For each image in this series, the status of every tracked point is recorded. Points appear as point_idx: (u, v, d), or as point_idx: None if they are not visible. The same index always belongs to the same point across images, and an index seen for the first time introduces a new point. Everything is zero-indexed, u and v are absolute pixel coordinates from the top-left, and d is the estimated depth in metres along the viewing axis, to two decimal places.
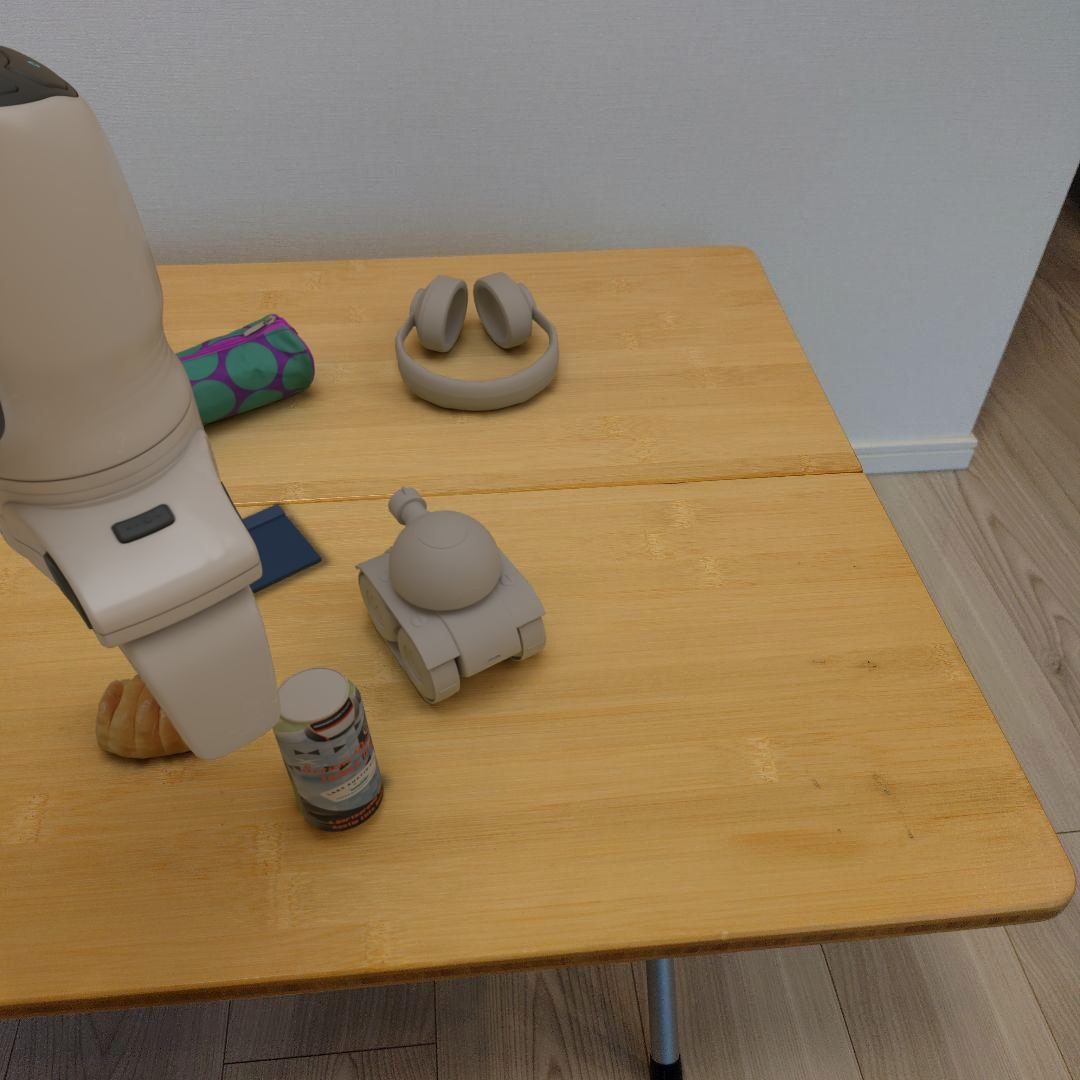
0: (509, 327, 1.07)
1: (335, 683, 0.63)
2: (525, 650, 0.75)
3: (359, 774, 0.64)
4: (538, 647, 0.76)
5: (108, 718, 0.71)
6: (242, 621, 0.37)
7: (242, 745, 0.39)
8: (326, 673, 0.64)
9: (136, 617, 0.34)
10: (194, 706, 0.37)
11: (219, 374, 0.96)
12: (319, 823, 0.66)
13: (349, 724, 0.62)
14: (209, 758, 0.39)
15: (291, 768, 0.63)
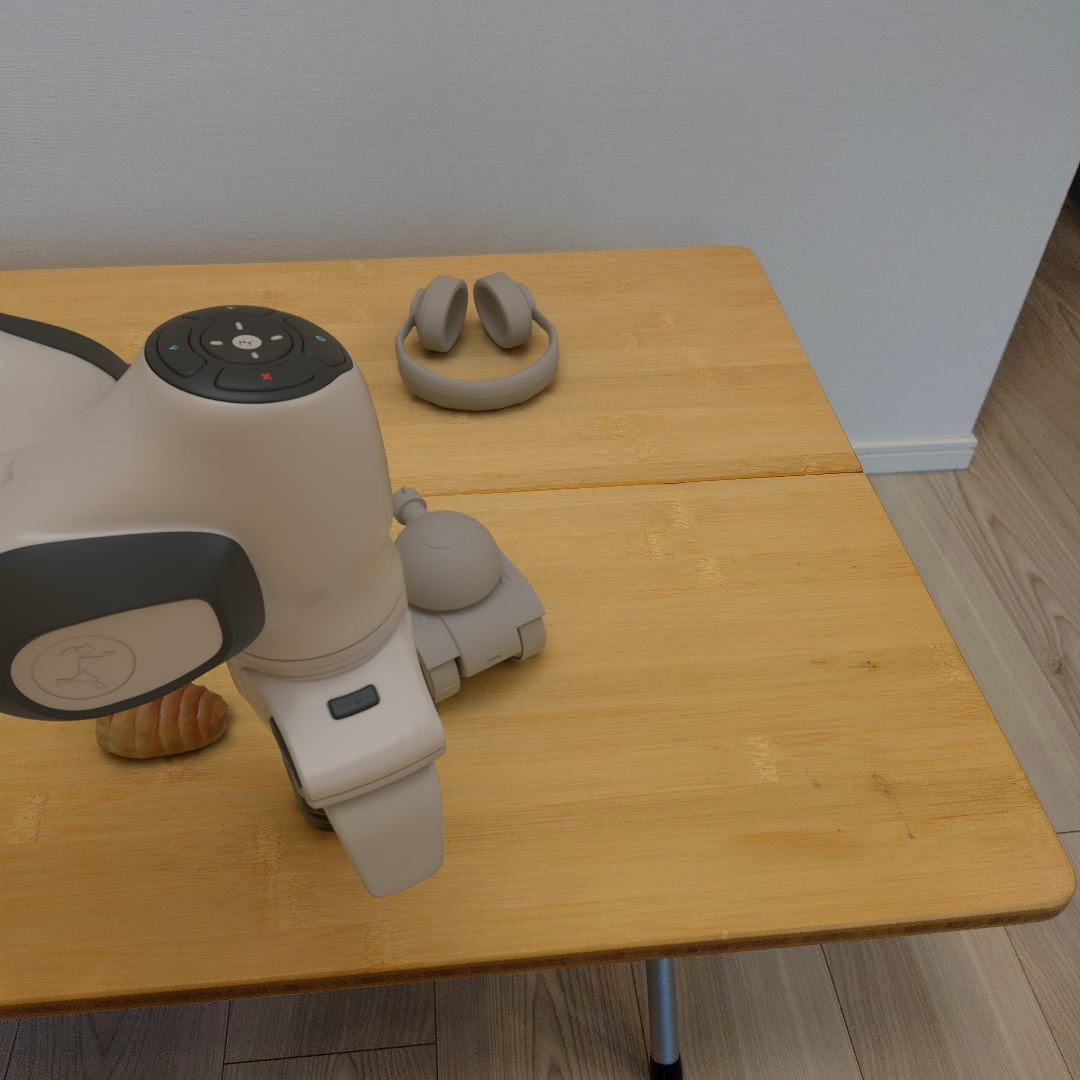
0: (509, 327, 1.07)
1: None
2: (525, 650, 0.75)
3: None
4: (538, 647, 0.76)
5: (108, 718, 0.71)
6: (423, 791, 0.42)
7: (407, 887, 0.45)
8: None
9: (340, 789, 0.39)
10: (374, 858, 0.42)
11: None
12: (319, 823, 0.66)
13: None
14: (379, 896, 0.44)
15: None
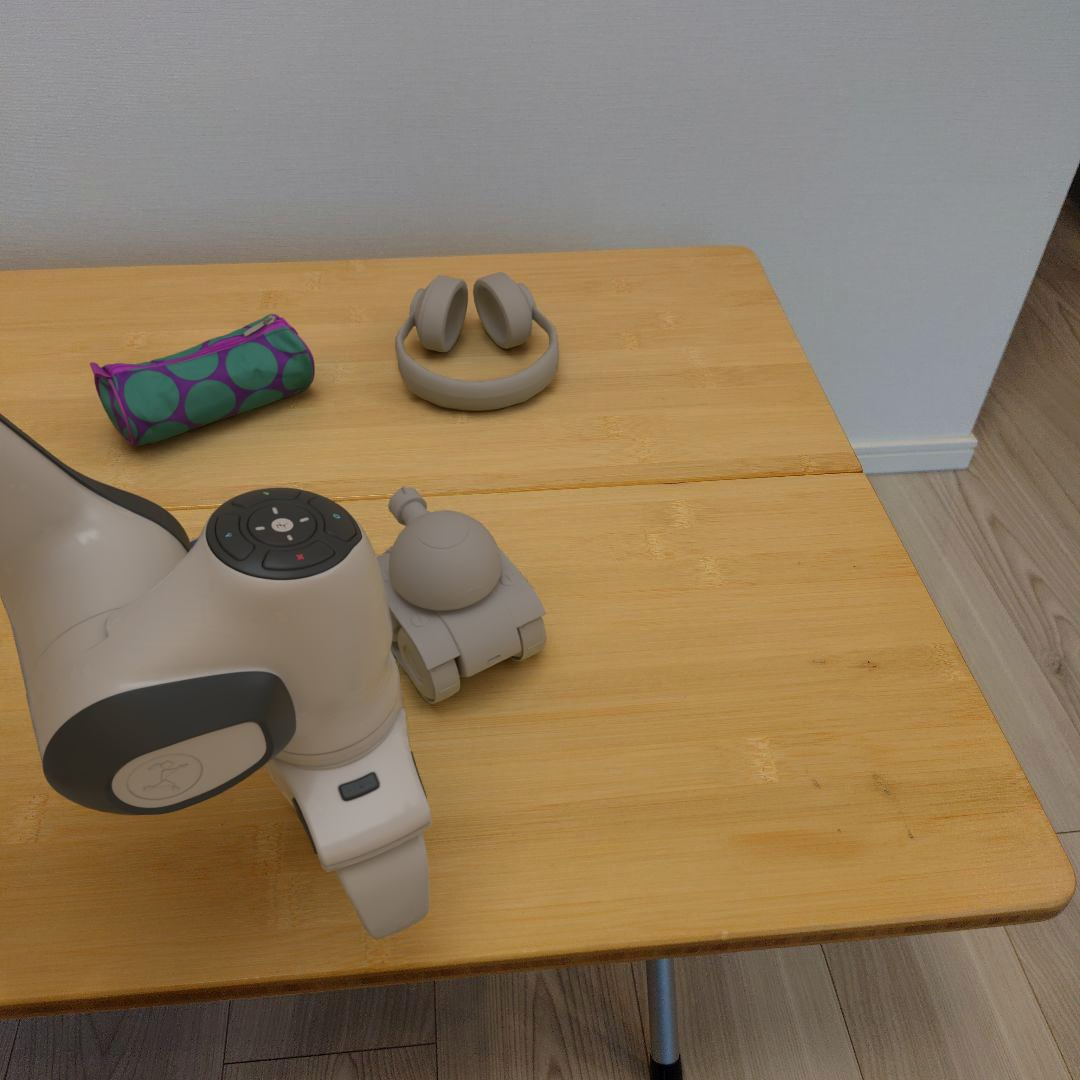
0: (509, 327, 1.07)
1: None
2: (525, 650, 0.75)
3: None
4: (538, 647, 0.76)
5: None
6: (413, 856, 0.53)
7: (400, 930, 0.55)
8: None
9: (348, 857, 0.50)
10: (374, 909, 0.53)
11: (219, 374, 0.96)
12: None
13: None
14: (377, 938, 0.55)
15: None
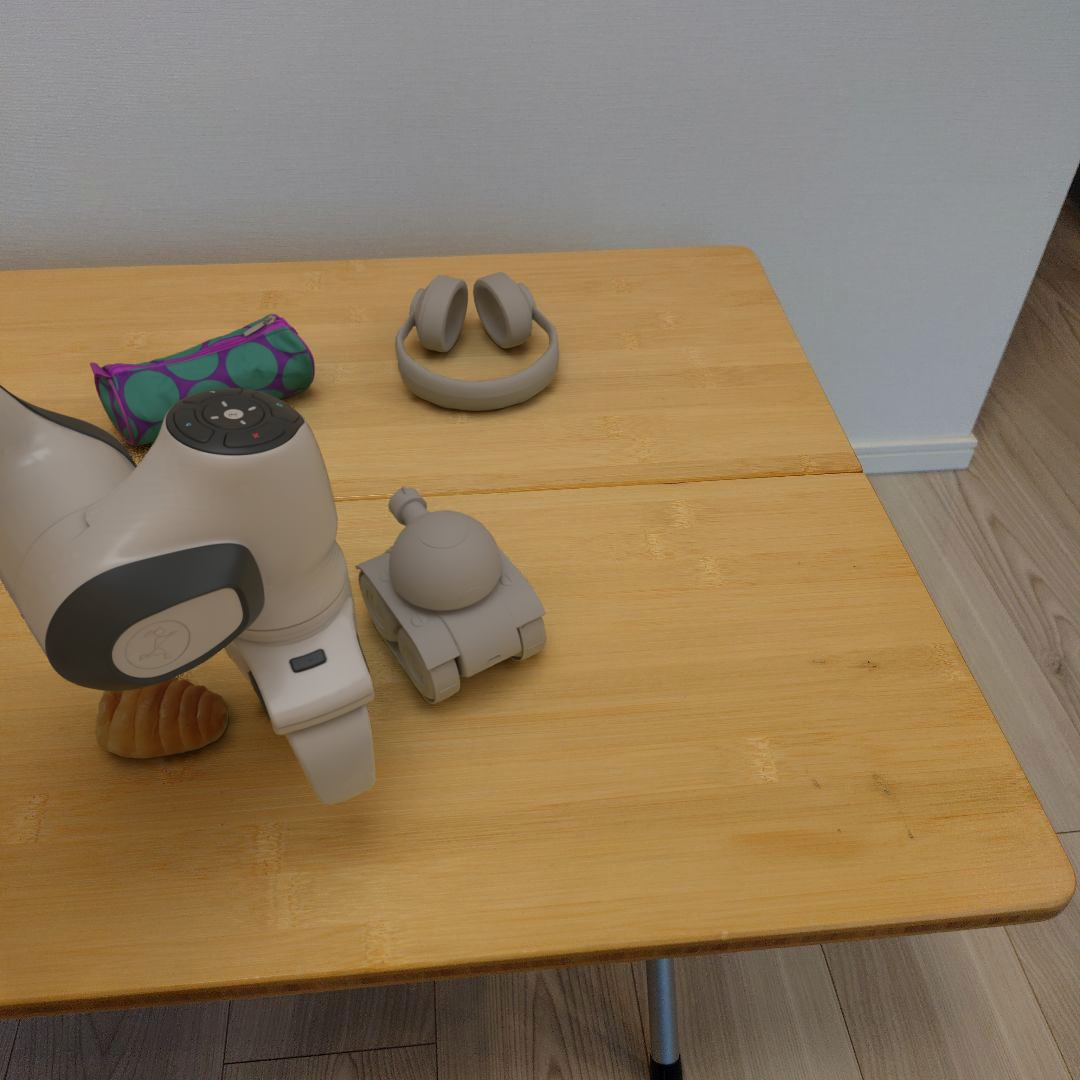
0: (509, 327, 1.07)
1: None
2: (525, 650, 0.75)
3: None
4: (538, 647, 0.76)
5: (108, 718, 0.71)
6: (358, 726, 0.59)
7: (348, 798, 0.62)
8: None
9: (296, 720, 0.56)
10: (322, 773, 0.59)
11: (219, 374, 0.96)
12: None
13: None
14: (327, 803, 0.61)
15: None
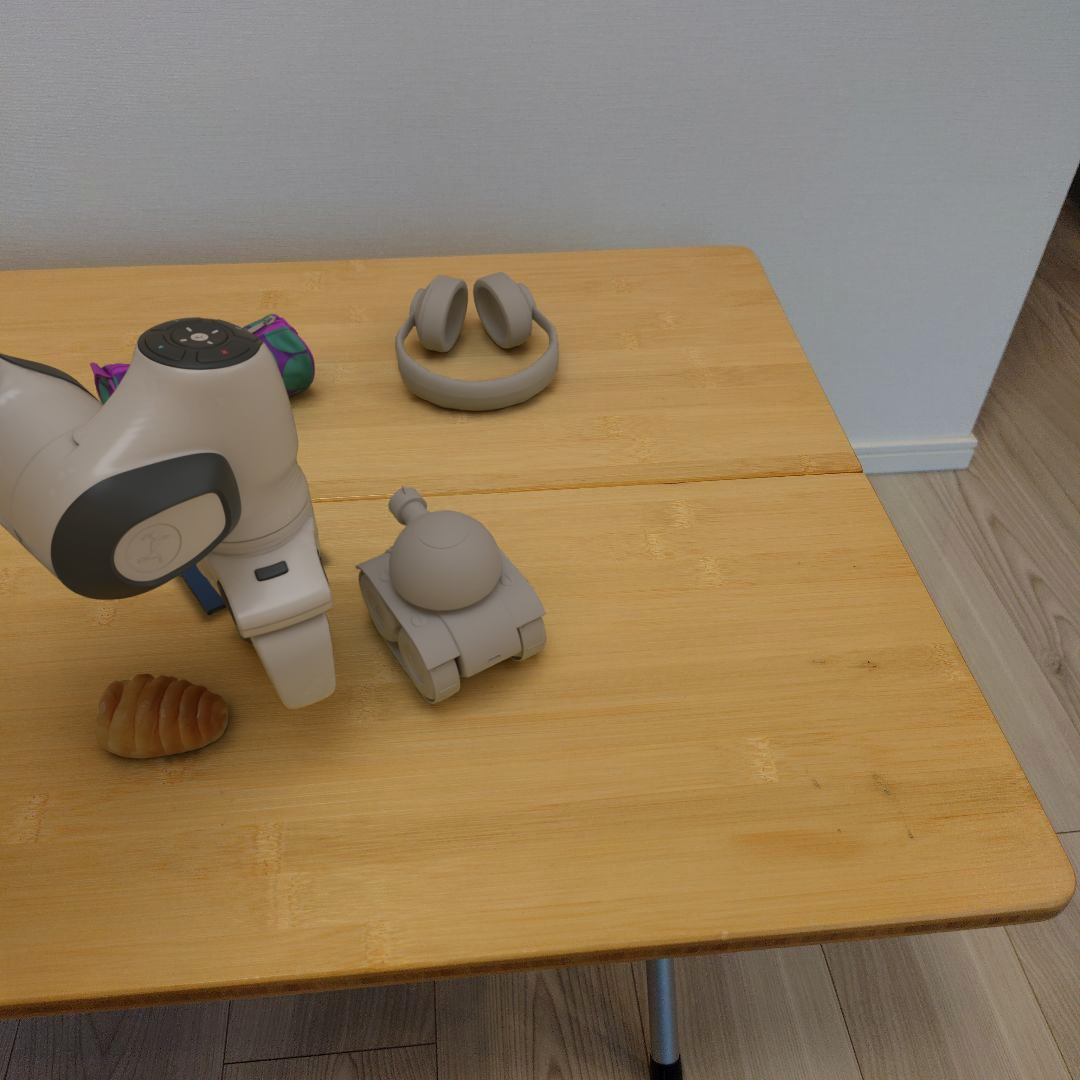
0: (509, 327, 1.07)
1: None
2: (525, 650, 0.75)
3: None
4: (538, 647, 0.76)
5: (108, 718, 0.71)
6: (317, 632, 0.64)
7: (311, 703, 0.67)
8: None
9: (260, 623, 0.62)
10: (285, 676, 0.64)
11: None
12: None
13: None
14: (291, 707, 0.66)
15: None
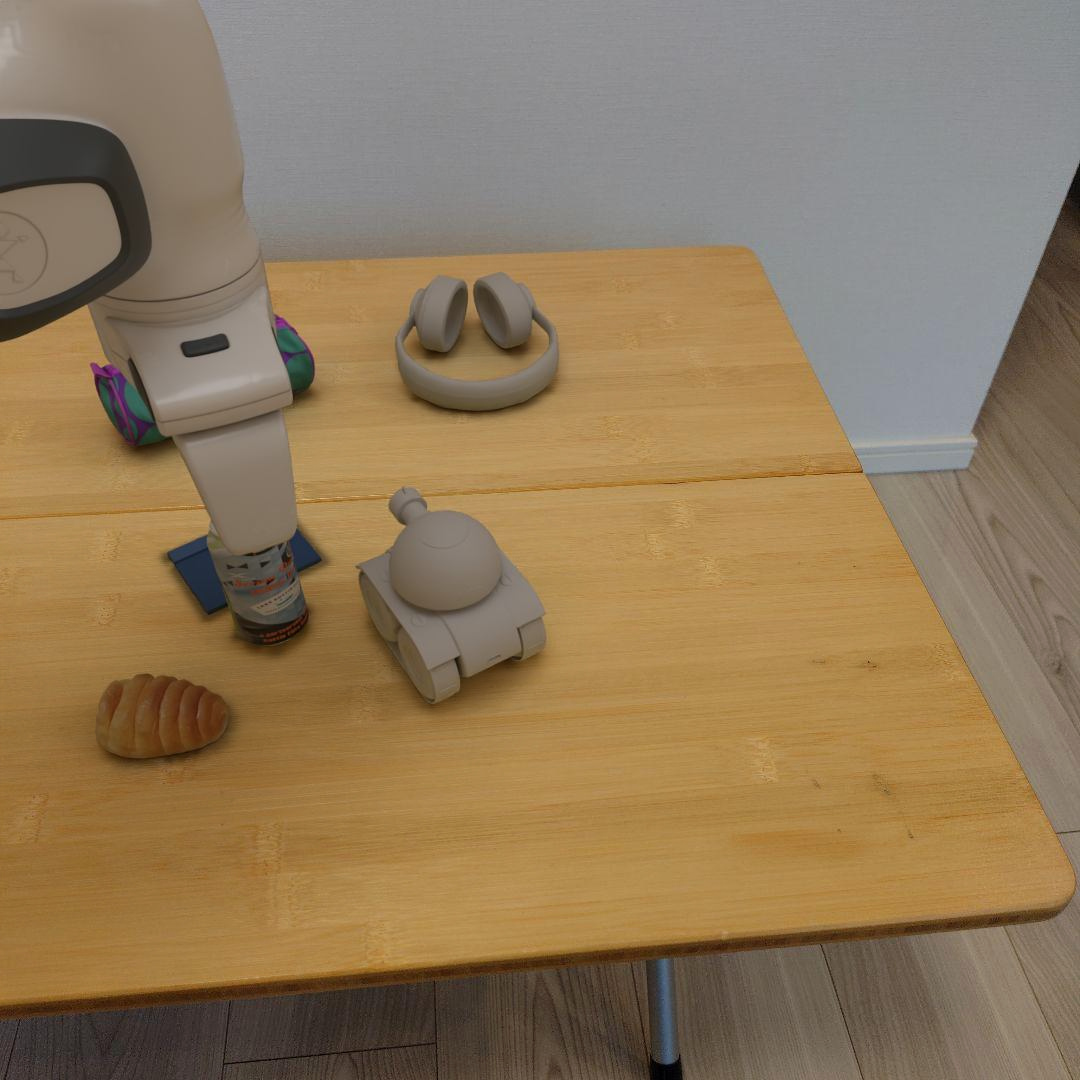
0: (509, 327, 1.07)
1: None
2: (525, 650, 0.75)
3: (284, 591, 0.76)
4: (538, 647, 0.76)
5: (108, 718, 0.71)
6: (271, 437, 0.46)
7: (262, 545, 0.48)
8: None
9: (187, 412, 0.43)
10: (225, 499, 0.46)
11: None
12: (252, 637, 0.78)
13: None
14: (234, 549, 0.48)
15: (225, 585, 0.75)
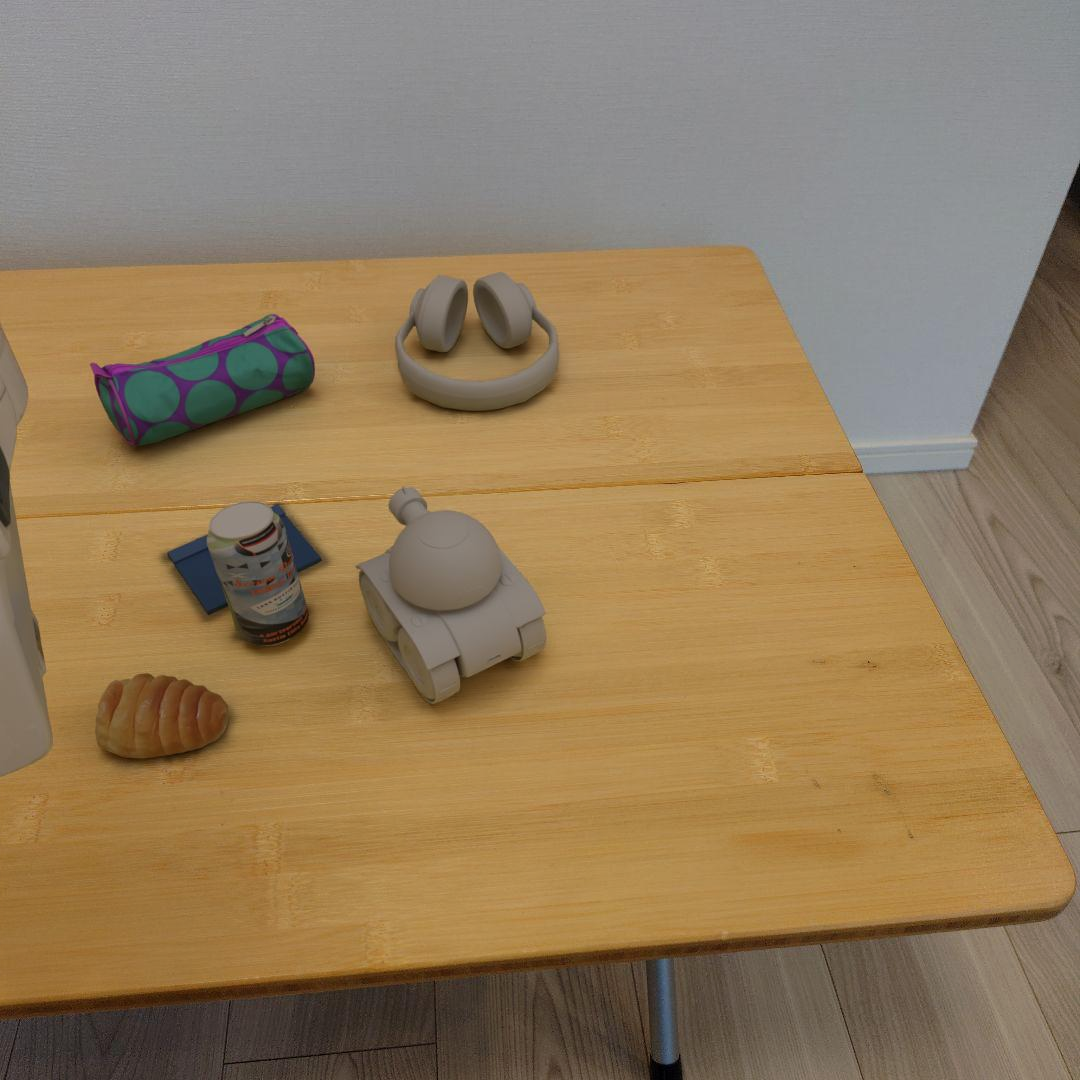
0: (509, 327, 1.07)
1: (261, 511, 0.75)
2: (525, 650, 0.75)
3: (284, 591, 0.76)
4: (538, 647, 0.76)
5: (108, 718, 0.71)
6: None
7: None
8: (254, 505, 0.75)
9: None
10: None
11: (219, 374, 0.96)
12: (252, 637, 0.78)
13: (273, 543, 0.73)
14: None
15: (225, 585, 0.75)
